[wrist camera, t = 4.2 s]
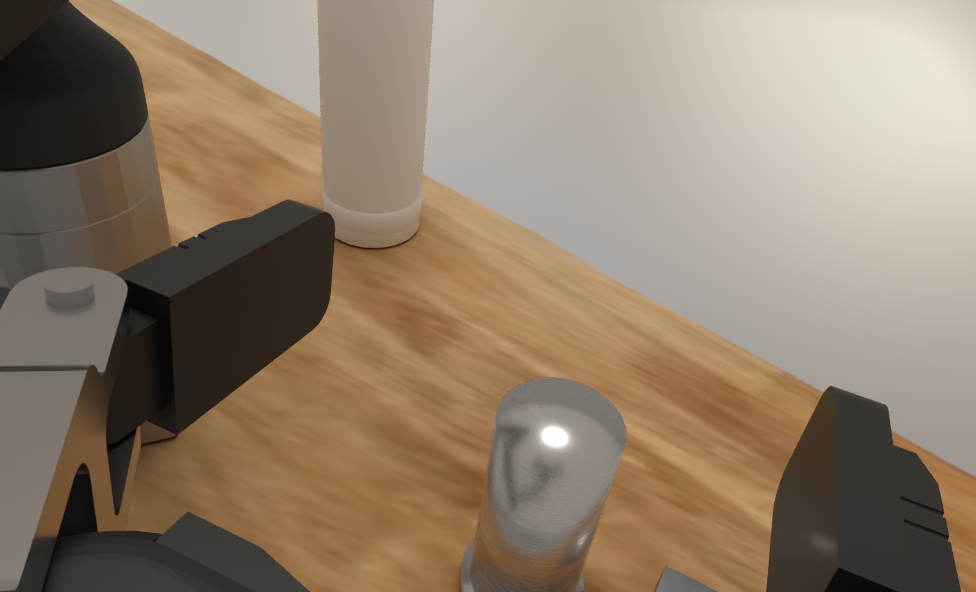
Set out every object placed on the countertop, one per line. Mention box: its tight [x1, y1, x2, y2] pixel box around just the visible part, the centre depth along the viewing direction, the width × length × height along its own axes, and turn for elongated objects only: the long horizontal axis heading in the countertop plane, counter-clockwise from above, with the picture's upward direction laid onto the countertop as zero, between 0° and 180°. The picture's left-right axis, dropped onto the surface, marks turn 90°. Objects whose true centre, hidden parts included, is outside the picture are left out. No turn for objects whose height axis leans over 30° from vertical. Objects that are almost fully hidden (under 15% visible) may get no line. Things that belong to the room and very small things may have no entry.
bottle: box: [317, 0, 434, 248], centre depth 51 cm, size 8×8×30 cm
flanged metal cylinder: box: [459, 377, 626, 592], centre depth 33 cm, size 6×6×12 cm
